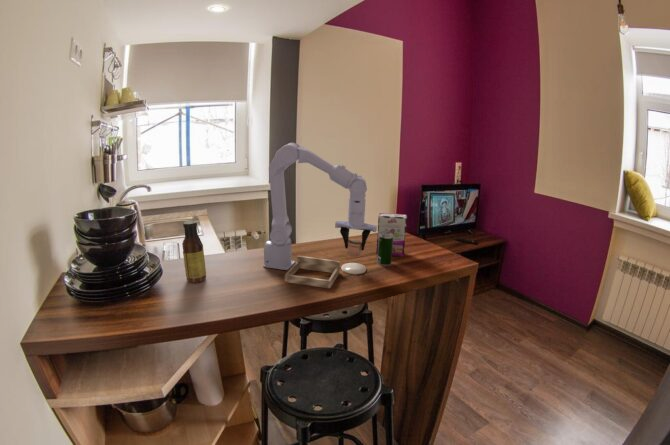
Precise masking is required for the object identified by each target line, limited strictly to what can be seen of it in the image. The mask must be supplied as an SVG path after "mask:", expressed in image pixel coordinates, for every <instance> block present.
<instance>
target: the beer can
mask: <svg viewBox="0 0 670 445" xmlns="http://www.w3.org/2000/svg"><path fill="white" fill-rule="evenodd" d="M392 248H393V233H391V232H380V235H379V243H378V254H377V259H376V262H377V264H378V266H381V267H382V266H383V267H389V266H390V265H391V264H392V258H393V256H392Z"/></svg>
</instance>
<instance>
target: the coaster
mask: <svg viewBox="0 0 670 445" xmlns="http://www.w3.org/2000/svg"><path fill="white" fill-rule="evenodd" d="M340 269H341V271H342V272H343V273H345V274H348V275H353V276H354V275H362V274H364V273H366V271H367V267H366V265H364V264H361V263H359V262H358V263H357V262H348V263H346V262H345V263H343V264H342V265H341V266H340Z"/></svg>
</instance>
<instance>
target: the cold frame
mask: <svg viewBox="0 0 670 445" xmlns="http://www.w3.org/2000/svg"><path fill="white" fill-rule="evenodd" d="M340 263H341V261H340V260H334V259H326V258H320V257H319V258H318V257H312V256H303V255H297V256H296V261H295V263H294V264H293V265H292V266H291V267H290V268H289V269H288V270H287V272H286V273H285V274H284V282H285V283H291V284H298V285H303V286H311V287H317V288H325V289H331V288H332V286H333V285H334V283H335V281H336V279H337V277H338V276H339V274H340V268H341V266H340ZM299 269H303V270H311V271H316V272H317V271H318V272H324V273H331V276H330V277H329V279H323V278H317V277H309V276H303V275H302V276H301V275H295V274H296V272H298V270H299Z"/></svg>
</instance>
